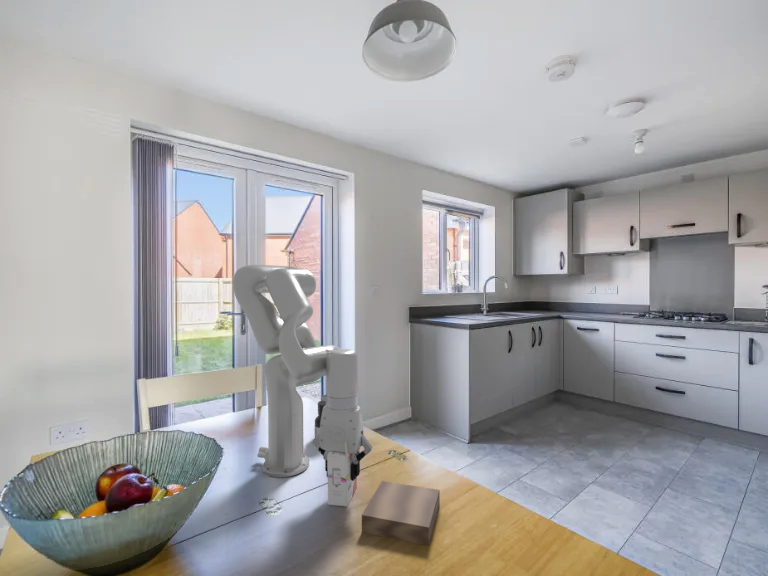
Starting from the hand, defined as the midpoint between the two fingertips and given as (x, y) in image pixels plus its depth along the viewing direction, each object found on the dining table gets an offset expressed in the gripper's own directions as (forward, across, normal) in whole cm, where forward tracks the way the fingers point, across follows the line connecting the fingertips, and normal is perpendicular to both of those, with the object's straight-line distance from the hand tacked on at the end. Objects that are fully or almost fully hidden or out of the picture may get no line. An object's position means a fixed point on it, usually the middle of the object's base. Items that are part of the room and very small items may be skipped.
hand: (342, 475), depth 90 cm
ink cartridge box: (+5, 0, 0) cm, 5 cm away
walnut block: (+6, +16, -4) cm, 17 cm away
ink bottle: (+5, -18, +30) cm, 35 cm away
